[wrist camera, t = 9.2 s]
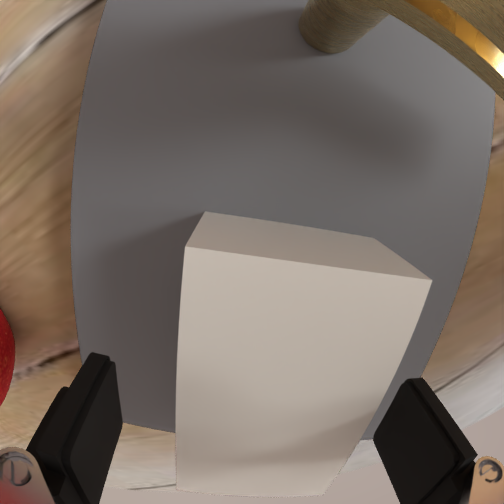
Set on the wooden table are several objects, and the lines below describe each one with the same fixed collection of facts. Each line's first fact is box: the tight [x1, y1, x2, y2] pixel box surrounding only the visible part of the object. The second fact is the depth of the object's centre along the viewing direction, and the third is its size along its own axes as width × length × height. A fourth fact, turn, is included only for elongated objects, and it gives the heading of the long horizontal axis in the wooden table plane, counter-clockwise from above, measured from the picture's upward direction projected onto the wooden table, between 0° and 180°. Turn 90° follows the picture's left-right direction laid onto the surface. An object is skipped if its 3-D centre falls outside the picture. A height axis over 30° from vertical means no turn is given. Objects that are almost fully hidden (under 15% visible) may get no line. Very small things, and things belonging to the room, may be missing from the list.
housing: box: [71, 0, 495, 440], centre depth 12 cm, size 16×23×3 cm
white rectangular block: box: [176, 212, 432, 497], centre depth 10 cm, size 6×10×4 cm, turn 171°
